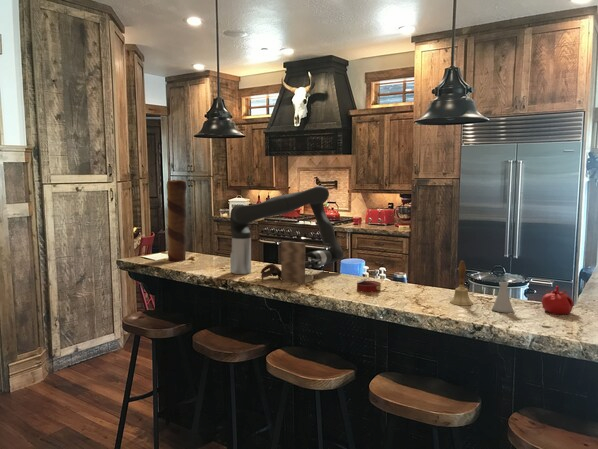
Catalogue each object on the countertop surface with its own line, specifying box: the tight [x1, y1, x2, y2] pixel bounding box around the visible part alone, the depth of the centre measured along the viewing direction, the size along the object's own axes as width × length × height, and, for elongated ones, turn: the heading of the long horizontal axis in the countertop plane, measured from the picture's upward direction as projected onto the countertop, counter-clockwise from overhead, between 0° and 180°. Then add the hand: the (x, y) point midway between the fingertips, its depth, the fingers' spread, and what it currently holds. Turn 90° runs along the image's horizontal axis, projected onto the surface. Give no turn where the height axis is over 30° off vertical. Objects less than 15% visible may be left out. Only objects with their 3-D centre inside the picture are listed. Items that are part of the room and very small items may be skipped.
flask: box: [491, 281, 514, 314], centre depth 170 cm, size 7×7×10 cm
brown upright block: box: [280, 240, 314, 285], centre depth 217 cm, size 12×9×18 cm
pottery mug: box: [260, 263, 281, 281], centre depth 221 cm, size 12×10×8 cm
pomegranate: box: [541, 285, 574, 315], centre depth 168 cm, size 10×10×9 cm
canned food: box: [356, 271, 382, 294], centre depth 201 cm, size 11×10×10 cm
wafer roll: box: [166, 179, 187, 262], centre depth 269 cm, size 10×11×45 cm
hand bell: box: [449, 260, 474, 307], centre depth 180 cm, size 8×8×16 cm
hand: (295, 263), depth 216 cm, fingers open, 8 cm apart
